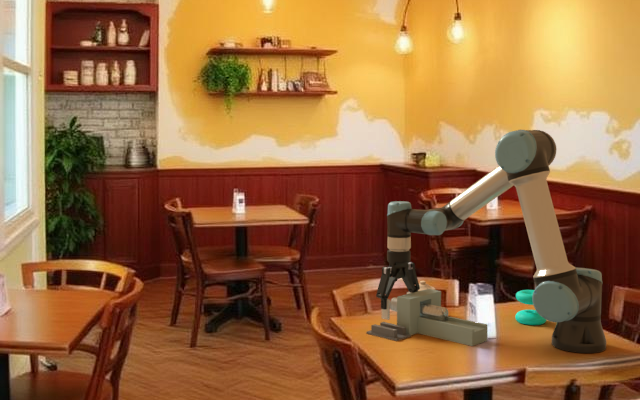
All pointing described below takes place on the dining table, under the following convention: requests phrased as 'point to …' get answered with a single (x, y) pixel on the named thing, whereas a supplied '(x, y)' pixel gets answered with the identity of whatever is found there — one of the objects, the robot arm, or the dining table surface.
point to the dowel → (426, 310)
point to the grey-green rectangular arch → (414, 308)
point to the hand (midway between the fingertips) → (398, 315)
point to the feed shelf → (454, 330)
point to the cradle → (389, 331)
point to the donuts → (528, 315)
